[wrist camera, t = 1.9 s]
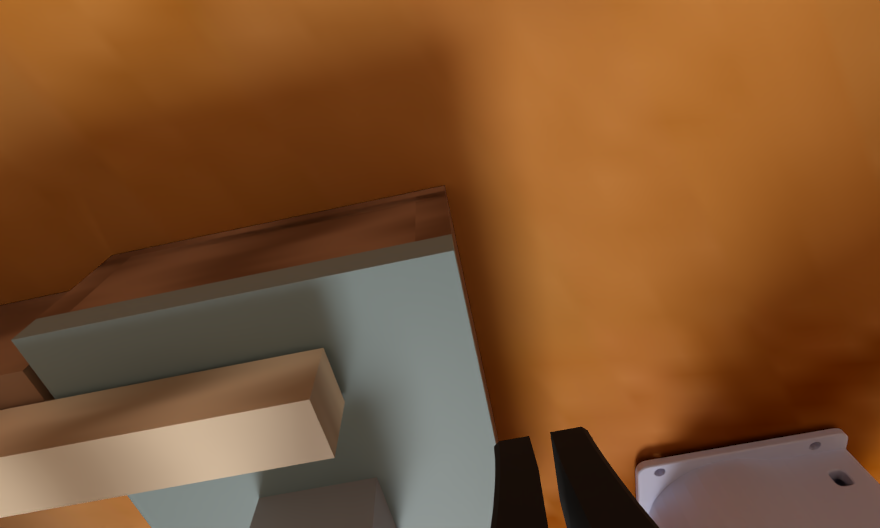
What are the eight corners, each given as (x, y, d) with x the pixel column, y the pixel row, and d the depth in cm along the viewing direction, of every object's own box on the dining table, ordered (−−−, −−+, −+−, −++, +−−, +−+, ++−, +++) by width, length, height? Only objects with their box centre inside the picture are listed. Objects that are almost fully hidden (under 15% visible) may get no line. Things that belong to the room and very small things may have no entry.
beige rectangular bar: (323, 347, 14) (309, 399, 12) (344, 402, 15) (334, 457, 13) (-83, 425, 14) (-153, 486, 13) (-38, 473, 15) (-98, 535, 14)
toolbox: (444, 185, 17) (453, 250, 13) (515, 519, 25) (535, 629, 21) (-121, 304, 18) (-292, 401, 14) (123, 585, 27) (64, 702, 22)
